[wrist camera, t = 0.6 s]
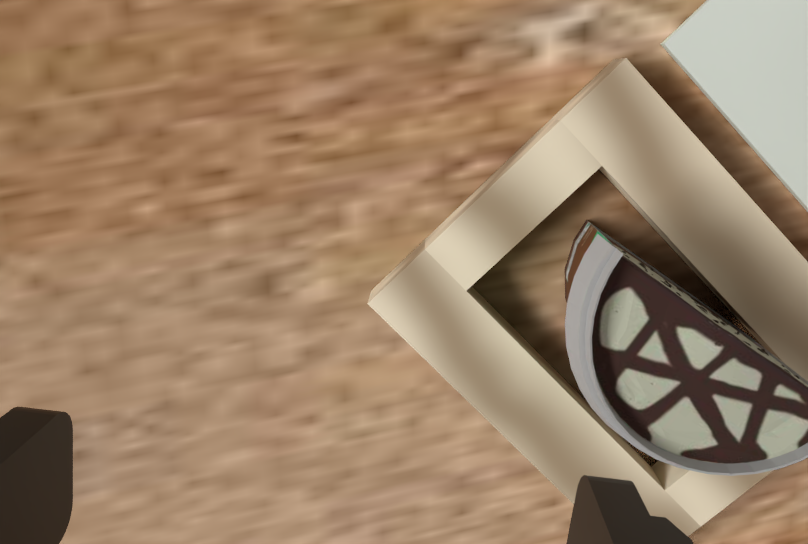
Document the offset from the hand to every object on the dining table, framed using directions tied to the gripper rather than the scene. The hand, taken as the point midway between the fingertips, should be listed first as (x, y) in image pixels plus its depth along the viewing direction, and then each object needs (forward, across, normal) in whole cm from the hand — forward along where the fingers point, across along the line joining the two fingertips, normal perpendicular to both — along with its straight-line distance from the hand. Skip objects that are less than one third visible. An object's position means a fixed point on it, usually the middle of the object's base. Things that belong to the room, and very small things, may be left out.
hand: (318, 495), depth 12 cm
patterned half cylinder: (+26, -12, +4) cm, 29 cm away
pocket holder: (+26, -12, +4) cm, 29 cm away
